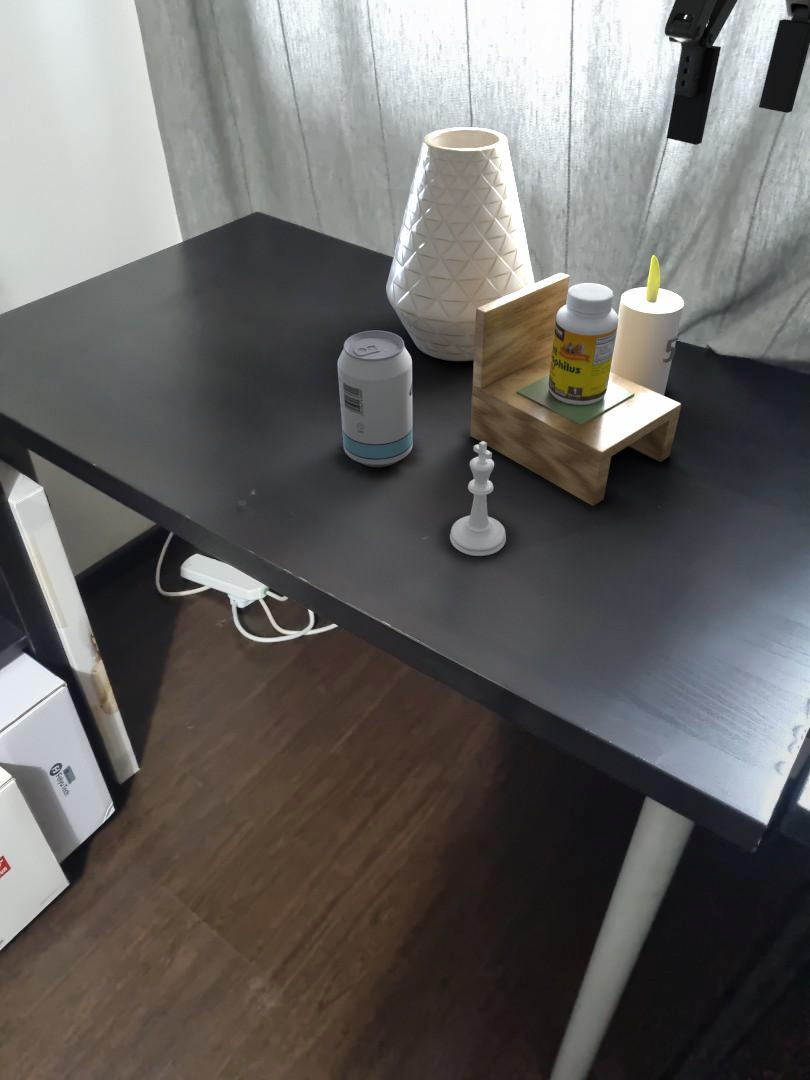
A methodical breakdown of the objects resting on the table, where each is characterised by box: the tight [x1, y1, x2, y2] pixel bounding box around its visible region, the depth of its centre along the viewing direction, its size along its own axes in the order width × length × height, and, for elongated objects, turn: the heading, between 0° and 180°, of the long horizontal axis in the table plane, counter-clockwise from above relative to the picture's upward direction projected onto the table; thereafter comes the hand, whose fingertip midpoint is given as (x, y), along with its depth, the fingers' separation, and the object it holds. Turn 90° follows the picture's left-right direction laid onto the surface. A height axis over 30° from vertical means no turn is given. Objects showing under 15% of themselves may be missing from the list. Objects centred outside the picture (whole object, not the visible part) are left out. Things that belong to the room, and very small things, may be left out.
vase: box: [385, 126, 536, 362], centre depth 94 cm, size 17×17×23 cm
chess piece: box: [449, 441, 507, 557], centre depth 70 cm, size 5×5×10 cm
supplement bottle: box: [549, 282, 619, 405], centre depth 76 cm, size 6×6×10 cm
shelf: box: [470, 272, 682, 507], centre depth 79 cm, size 16×12×14 cm
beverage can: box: [337, 330, 414, 468], centre depth 79 cm, size 7×7×12 cm
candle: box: [610, 254, 685, 396], centre depth 87 cm, size 6×6×15 cm
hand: (731, 124), depth 68 cm, fingers open, 13 cm apart
